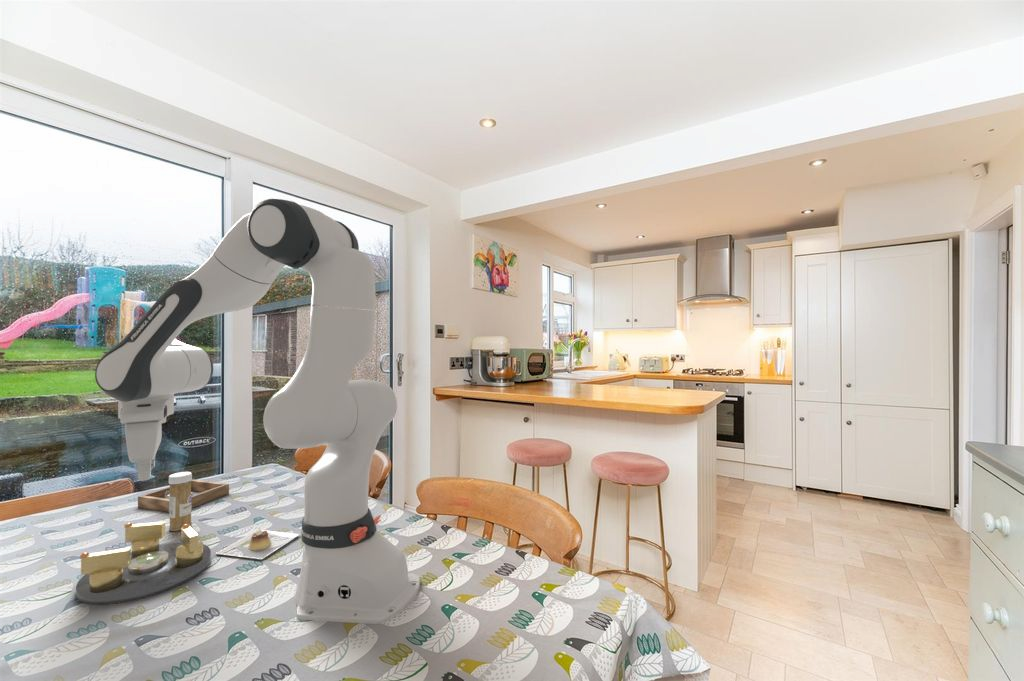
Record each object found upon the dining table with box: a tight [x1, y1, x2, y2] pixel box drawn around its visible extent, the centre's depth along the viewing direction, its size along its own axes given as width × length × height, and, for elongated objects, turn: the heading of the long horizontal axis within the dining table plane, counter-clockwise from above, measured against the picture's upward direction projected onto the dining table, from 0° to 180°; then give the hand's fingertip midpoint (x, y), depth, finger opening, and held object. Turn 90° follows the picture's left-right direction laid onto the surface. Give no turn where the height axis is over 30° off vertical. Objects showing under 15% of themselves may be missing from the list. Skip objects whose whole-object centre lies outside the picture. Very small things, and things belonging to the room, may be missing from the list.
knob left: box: [79, 546, 132, 593], centre depth 77 cm, size 7×4×7 cm, turn 115°
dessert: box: [214, 527, 301, 561], centre depth 96 cm, size 12×12×5 cm
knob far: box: [124, 521, 166, 558], centre depth 88 cm, size 7×4×7 cm, turn 105°
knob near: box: [176, 524, 204, 567], centre depth 85 cm, size 7×4×7 cm, turn 50°
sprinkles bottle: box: [168, 471, 193, 532], centre depth 105 cm, size 5×5×14 cm
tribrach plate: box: [75, 541, 212, 606], centre depth 84 cm, size 20×20×4 cm
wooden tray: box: [137, 479, 230, 513], centre depth 123 cm, size 15×15×3 cm
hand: (147, 473), depth 88 cm, fingers open, 8 cm apart
